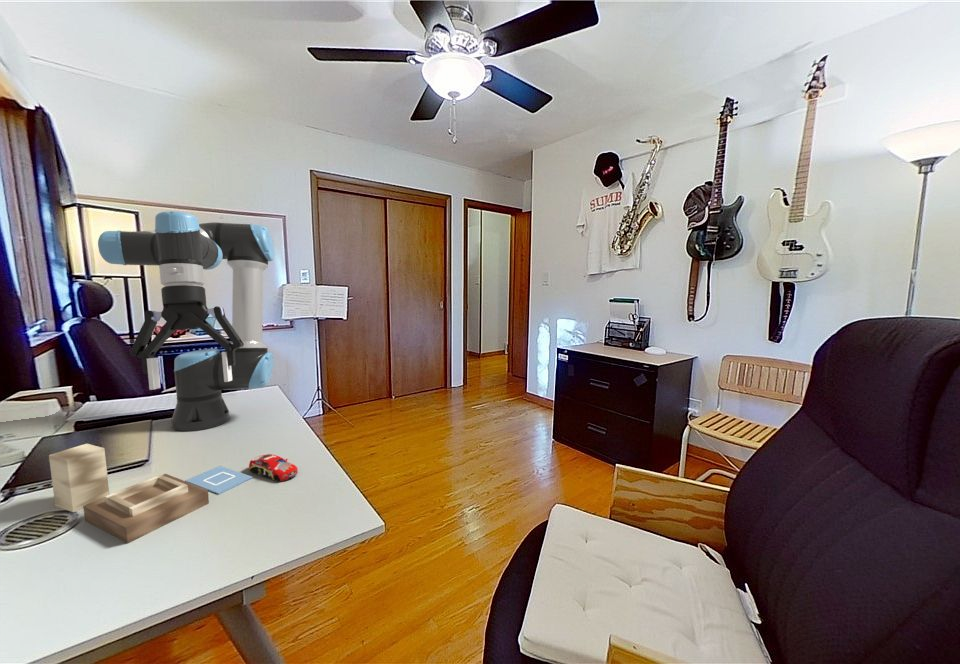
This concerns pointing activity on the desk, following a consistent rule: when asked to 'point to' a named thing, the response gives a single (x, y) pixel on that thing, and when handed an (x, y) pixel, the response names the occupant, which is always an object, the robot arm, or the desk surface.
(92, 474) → the pillar
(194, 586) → the desk surface
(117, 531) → the base plate
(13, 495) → the desk surface
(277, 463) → the race car
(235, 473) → the blueprint card
